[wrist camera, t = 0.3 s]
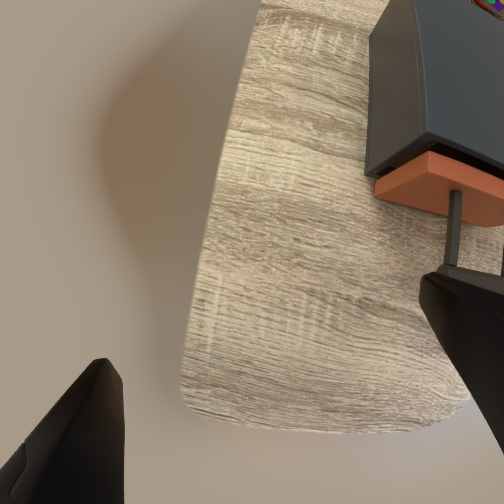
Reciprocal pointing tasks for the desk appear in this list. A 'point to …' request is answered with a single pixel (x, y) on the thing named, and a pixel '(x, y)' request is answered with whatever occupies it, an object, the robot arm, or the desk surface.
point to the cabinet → (435, 82)
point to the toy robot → (493, 6)
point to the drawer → (450, 199)
